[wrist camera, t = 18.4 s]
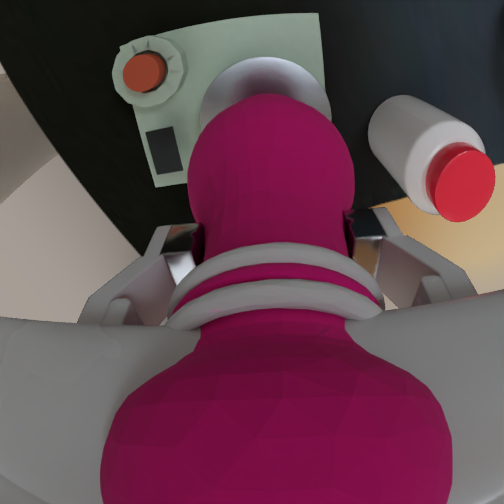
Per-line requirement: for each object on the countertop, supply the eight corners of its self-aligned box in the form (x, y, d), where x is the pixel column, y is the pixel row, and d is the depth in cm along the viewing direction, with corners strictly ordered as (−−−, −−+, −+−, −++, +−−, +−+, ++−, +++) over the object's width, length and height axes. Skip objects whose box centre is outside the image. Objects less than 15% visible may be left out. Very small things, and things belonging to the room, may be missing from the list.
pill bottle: (389, 182, 27) (437, 252, 19) (352, 120, 24) (403, 171, 15) (446, 146, 24) (511, 203, 16) (417, 81, 20) (493, 114, 12)
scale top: (161, 189, 25) (160, 191, 25) (133, 81, 19) (131, 82, 19) (331, 171, 24) (332, 173, 24) (326, 53, 18) (327, 53, 17)
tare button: (134, 92, 20) (126, 96, 19) (127, 59, 18) (118, 61, 17) (168, 83, 20) (162, 86, 18) (162, 49, 18) (155, 49, 16)
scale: (155, 181, 28) (146, 196, 26) (121, 47, 19) (106, 49, 17) (324, 163, 26) (331, 176, 24) (315, 14, 18) (322, 10, 15)
